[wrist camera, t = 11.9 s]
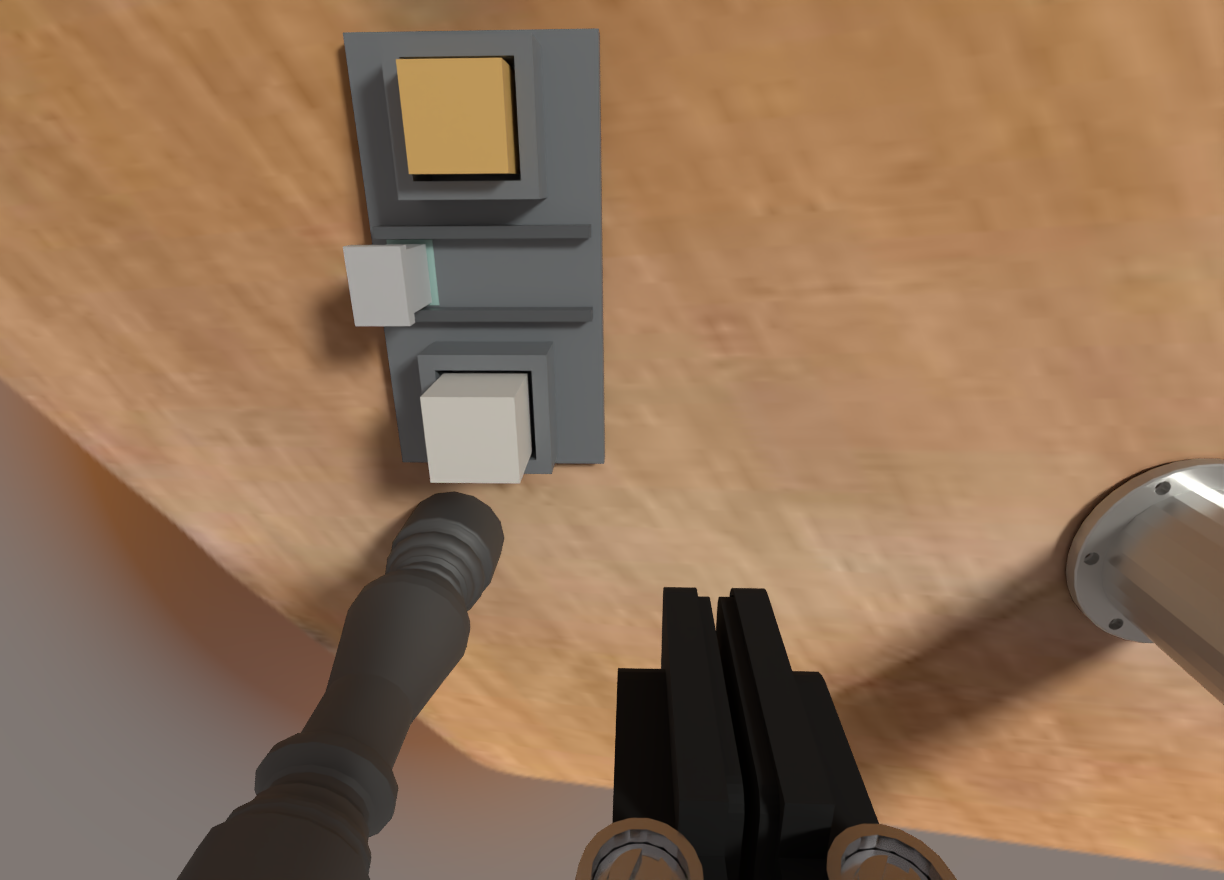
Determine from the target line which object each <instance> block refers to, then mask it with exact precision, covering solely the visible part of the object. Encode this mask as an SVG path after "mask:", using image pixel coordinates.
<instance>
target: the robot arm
mask: <svg viewBox="0 0 1224 880" xmlns="http://www.w3.org/2000/svg"><path fill="white" fill-rule="evenodd" d="M1066 577H1067V585H1068V589H1069V591H1070V594H1071V596H1072V599H1073V601H1074V602H1075V604H1076V605H1077V606H1078V608H1079V609H1080V610H1081V612H1082V613H1083V614H1084V615H1085V616H1086V617H1088V618H1089V619H1090V620H1091V621H1092V622H1093V623H1094V624H1095V625H1096V626H1097V627H1099V628H1100V629H1102V630H1103V631H1105V632H1106V633H1108V634H1111V635H1113V636H1116V637H1119V638H1121V639H1124V640H1129V641H1134V642H1140V643H1155V644H1156V645H1157V646H1158V647H1159V648H1160V649H1161V650H1162V651H1164V652H1165V653H1166V654H1167V655H1168V656H1169V657H1170V658H1171V659H1173V660H1174V661H1175V662H1176V663H1177V664H1178V665H1179V666H1180V667H1182V668H1183V669H1184V670H1185V671H1186V672H1187V673H1188V674H1189V675H1191V676H1192V677H1193V678H1194V679H1195V680H1196V681H1197V682H1198V683H1200V684H1201V685H1202V686H1203V687H1204V688H1205V689H1206V690H1207V691H1208V692H1210V693H1211V694H1212V695H1213V696H1214V697H1215V698H1216V699H1217V700H1219V701H1220V702H1221V703H1222V704H1223V705H1224V459H1213V458H1197V459H1190V460H1184V461H1177V462H1173V463H1170V464H1167V465H1163V466H1160V467H1157V468H1154V469H1151V470H1149V471H1147V472H1145V473H1143V474H1141V475H1139V476H1137V477H1135V478H1132V479H1131V480H1129V481H1128V482H1126V483H1125V484H1123V485H1122V486H1120V487H1119V488H1117V489H1116V490H1114V491H1113V492H1112V493H1110V494H1109V495H1108V496H1107V497H1106V498H1105V499H1104V500H1103V501H1101V502H1100V503H1099V504H1098V505H1097V506H1096V507H1095V508H1094V510H1093V511H1092V512H1091V513H1090V514H1089V516H1088V517H1087V518H1086V519H1085V520H1084V522H1083V523H1082V525H1081V527H1080V528H1079V530H1078V532H1077V534H1076V535H1075V537H1074V539H1073V542H1072V545H1071V548H1070V550H1069V553H1068V558H1067V566H1066ZM575 880H957V879H956V878H955V876H954V875H953V874H952V872H951V871H950V869H948V867H947V866H946V864H945V863H944V862H943V860H942V859H941V858H940V856H939V855H937V854H936V853H935V852H934V851H933V850H931V849H930V848H929V847H928V846H927V845H926V844H924V843H923V842H922V841H921V840H919V839H917V838H915V837H913V836H912V835H910V834H908V833H906V832H904V831H903V830H900V829H897V828H893V827H890V826H886V825H883V824H879V822H878V820H877V817H876V814H875V812H874V809H873V807H872V804H871V801H870V799H869V796H868V793H867V791H866V788H865V785H864V783H863V780H862V778H861V775H860V772H859V770H858V767H857V764H856V762H855V759H854V756H853V754H852V751H851V749H850V746H849V743H848V741H847V738H846V735H845V733H844V730H843V727H842V725H841V722H840V720H839V717H838V714H837V712H836V709H835V706H834V704H833V701H832V698H831V696H830V693H829V691H828V688H827V685H826V683H825V681H824V679H823V677H822V675H821V674H820V673H819V672H805V671H792V669H791V666H790V663H789V659H788V656H787V653H786V650H785V647H784V644H783V641H782V638H781V634H780V631H779V628H778V625H777V622H776V619H775V616H774V613H773V610H772V606H771V603H770V600H769V597H768V594H767V592H766V590H765V589H757V588H732V589H731V591H730V597H719V599H718V607H717V622H716V630H715V624H714V619H713V613H712V608H711V602H710V598H709V597H698V594H697V589H696V588H681V587H664V589H663V617H662V655H661V669H632V668H618V681H617V709H616V738H615V766H614V795H613V823H612V824H610V825H609V826H607V827H606V828H604V829H602V830H601V831H600V832H598V833H597V834H596V835H595V836H594V838H593V839H592V840H591V841H590V843H589V844H588V845H587V846H586V848H585V850H584V853H583V855H582V858H581V860H580V863H579V865H578V870H577V874H576V878H575Z"/></svg>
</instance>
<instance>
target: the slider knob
mask: <svg viewBox="0 0 1224 880" xmlns="http://www.w3.org/2000/svg"><path fill="white" fill-rule="evenodd" d="M343 251H344V258H345V264H346V270H347V277H348V283H349V290H350V296H351V302H352V309H353V315H354V322H355V326H411V325H412V324H414V323H415V317H414V313H415V312H417V311H418V310H420V309H422V308H423V307H425V306H427V305H428V304H430V303H432V298H431V289H430V279H429V270H428V261H427V252H426V244H386V245H348V246H344V247H343Z"/></svg>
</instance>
